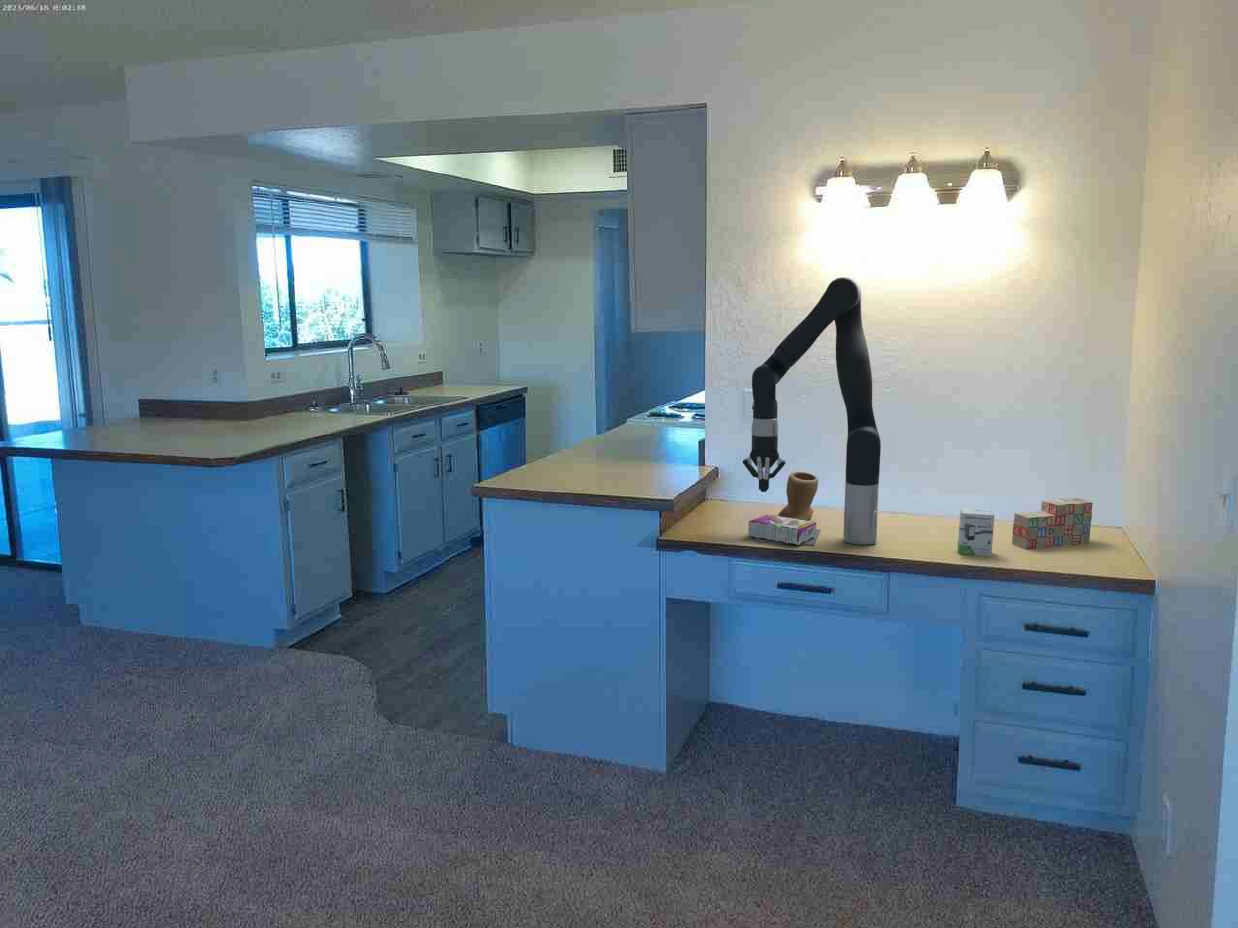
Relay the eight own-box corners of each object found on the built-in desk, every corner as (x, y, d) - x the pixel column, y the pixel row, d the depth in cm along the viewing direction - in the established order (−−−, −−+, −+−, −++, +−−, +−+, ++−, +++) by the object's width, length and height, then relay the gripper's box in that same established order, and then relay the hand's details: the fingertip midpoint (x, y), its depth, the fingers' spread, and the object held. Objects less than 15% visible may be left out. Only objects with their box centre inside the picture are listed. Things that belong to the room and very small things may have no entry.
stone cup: (812, 526, 297) (814, 478, 294) (774, 522, 302) (775, 475, 299) (822, 515, 311) (824, 469, 308) (786, 512, 315) (787, 466, 312)
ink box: (958, 554, 266) (961, 512, 263) (957, 549, 270) (959, 508, 268) (992, 556, 263) (994, 514, 261) (990, 551, 268) (993, 510, 266)
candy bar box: (767, 513, 291) (817, 521, 281) (766, 529, 292) (816, 538, 282) (748, 520, 282) (798, 529, 272) (747, 536, 283) (798, 546, 273)
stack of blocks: (1026, 550, 270) (1029, 507, 268) (1011, 544, 276) (1014, 502, 274) (1089, 543, 276) (1093, 501, 274) (1073, 538, 282) (1077, 497, 280)
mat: (820, 530, 292) (820, 529, 292) (813, 545, 275) (814, 544, 275) (763, 526, 297) (763, 525, 296) (754, 541, 280) (754, 540, 280)
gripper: (789, 432, 284) (787, 490, 287) (744, 430, 288) (743, 487, 291) (785, 436, 277) (784, 495, 280) (740, 434, 281) (739, 492, 284)
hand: (763, 491), depth 285 cm, fingers closed
